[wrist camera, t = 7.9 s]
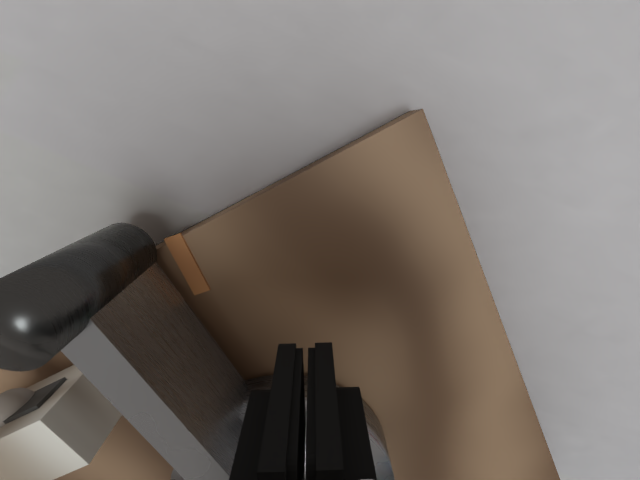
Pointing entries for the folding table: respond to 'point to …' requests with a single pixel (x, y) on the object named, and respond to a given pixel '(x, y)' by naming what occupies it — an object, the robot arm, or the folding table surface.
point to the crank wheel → (138, 349)
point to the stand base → (323, 323)
